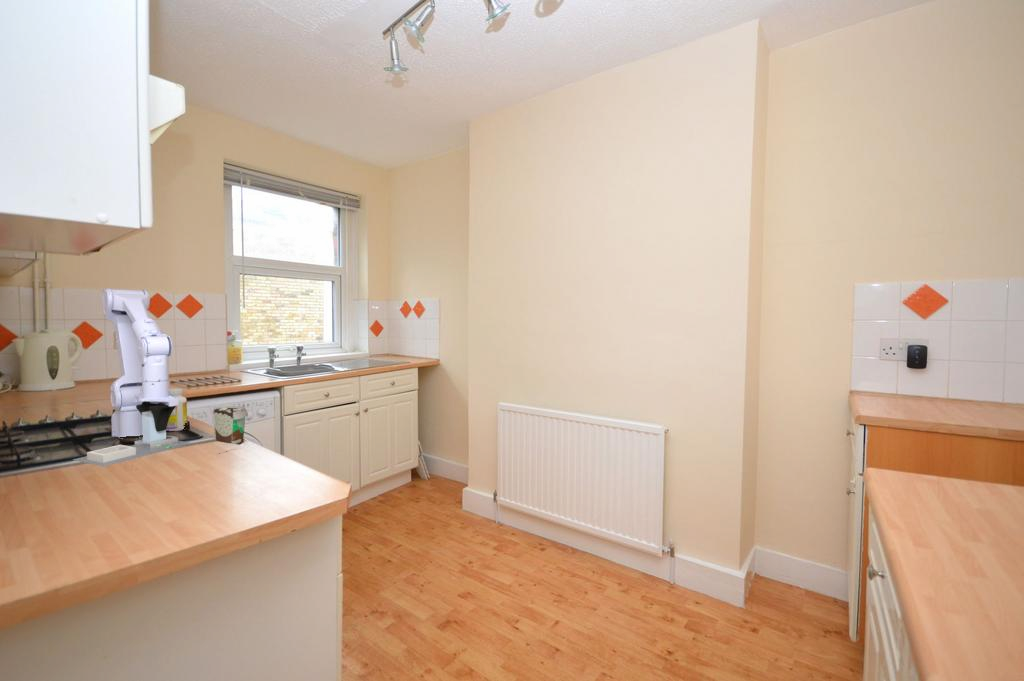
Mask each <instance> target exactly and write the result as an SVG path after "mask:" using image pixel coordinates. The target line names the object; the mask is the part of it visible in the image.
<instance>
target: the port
mask: <svg viewBox="0 0 1024 681" xmlns="http://www.w3.org/2000/svg"><path fill="white" fill-rule="evenodd" d="M178 441H179V437H178V436H173V435H167V434H166V439H165V440H161V441H157V442H153V443H150V442H144V441H143V438H142V439H139V440H134V445H135V447H136V448H138V449H144V450H149V451H151V450H155V449H159V448H163V447H166V448H171V445H175V444H178Z"/></svg>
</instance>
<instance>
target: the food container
mask: <svg viewBox="0 0 1024 681" xmlns="http://www.w3.org/2000/svg"><path fill="white" fill-rule="evenodd" d="M212 415H213V427H214V441H215V442H219V443H220V442H221V443H224V444H225V443H226V444H232V445H238V446H240V445H242V444H244V438H245V437H244V436H245V425H246V424H245V423H246V417H248V416H249V414H248V410H247V407H245V406H241V405H220V406H213V407H212Z"/></svg>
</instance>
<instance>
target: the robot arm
mask: <svg viewBox="0 0 1024 681" xmlns="http://www.w3.org/2000/svg"><path fill="white" fill-rule="evenodd" d="M101 296H102V297H101V298H102V299H101V303H102V310H103V315H104V318H105V320H107V321H109V322H112V324H113V328H114V333H115V338H116V339H115V340H116V346H117V353H118V358H119V366H120V372H121V376H120V377H119V378H117V379H116V380H114V381H113V382H112V384H111V385H110V402H111V403H110V404H111V407H112V408H114V409H115V410H114V411H113V414H112V415H111V418H110V420H111V437H116V438H117V437H118V438H119V439H121V438H120V437H126V436H140V435H143V433H142V412H146V411H151V412H152V414H153V417H154V422H155V429H156V431H157V432H159V431H164V430H166V428H167V424H168V421H169V418H170V415H171V413H172V411H173V410H174V408H175V407H176V406H177V405H179V404H178V398H175V397H172V396H170V395H169V389H170V377H169V376H170V373H169V371H170V370H169V357H171V355H172V353H173V341H172V338H171V336H170V335H168V334H166V333H163V332H162V330H161V328H160V326H159V325H158V323H157V321H156V320H155V319H152V318H150V316H149V312H148V309H149V307H150V304H151V299H150V294H149V292H148V291H146V290H145V289H141V290H137V289H120V288H119V289H115V288H105V289H104V290H103V292H102V295H101Z"/></svg>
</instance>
